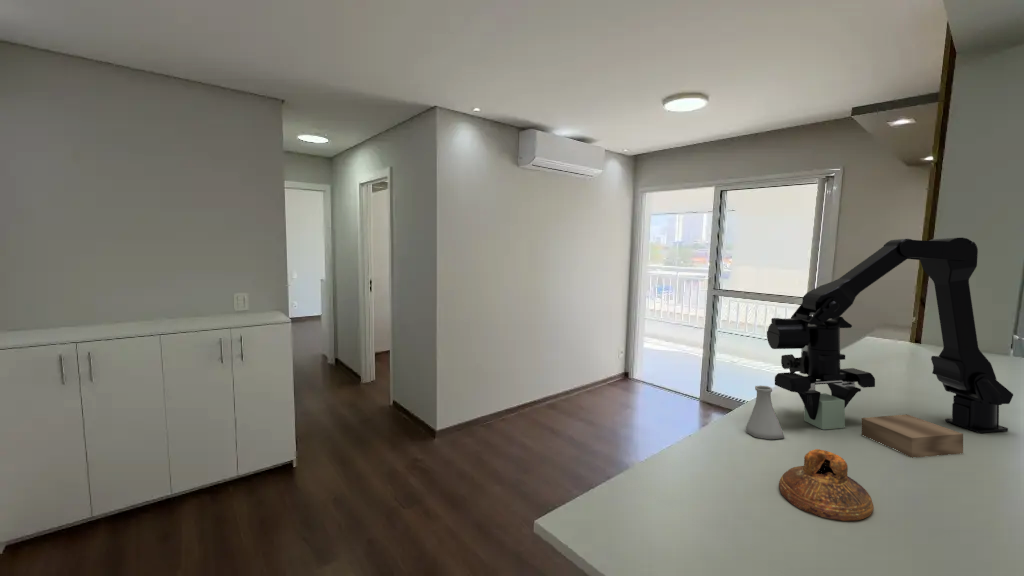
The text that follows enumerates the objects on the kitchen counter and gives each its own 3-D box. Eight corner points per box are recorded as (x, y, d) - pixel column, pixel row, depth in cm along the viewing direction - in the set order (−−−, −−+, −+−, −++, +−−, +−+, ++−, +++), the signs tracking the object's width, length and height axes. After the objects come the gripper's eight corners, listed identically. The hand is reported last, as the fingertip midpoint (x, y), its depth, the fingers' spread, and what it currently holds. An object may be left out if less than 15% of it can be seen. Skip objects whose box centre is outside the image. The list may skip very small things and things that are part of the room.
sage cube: (825, 419, 93) (825, 393, 93) (844, 427, 88) (844, 400, 88) (804, 420, 93) (804, 394, 92) (822, 429, 88) (822, 402, 87)
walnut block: (907, 433, 85) (907, 414, 85) (963, 455, 75) (963, 433, 75) (861, 437, 84) (861, 418, 84) (912, 459, 75) (912, 438, 74)
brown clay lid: (888, 505, 62) (888, 457, 61) (850, 534, 56) (850, 482, 55) (802, 472, 72) (801, 432, 71) (762, 494, 66) (762, 450, 65)
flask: (791, 441, 83) (790, 393, 83) (752, 440, 85) (751, 392, 84) (775, 427, 90) (775, 382, 90) (740, 426, 92) (739, 382, 91)
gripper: (833, 339, 98) (833, 403, 99) (758, 343, 97) (759, 408, 98) (877, 348, 87) (877, 420, 88) (792, 353, 86) (793, 426, 87)
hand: (824, 418), depth 90 cm, fingers closed on sage cube, 5 cm apart
